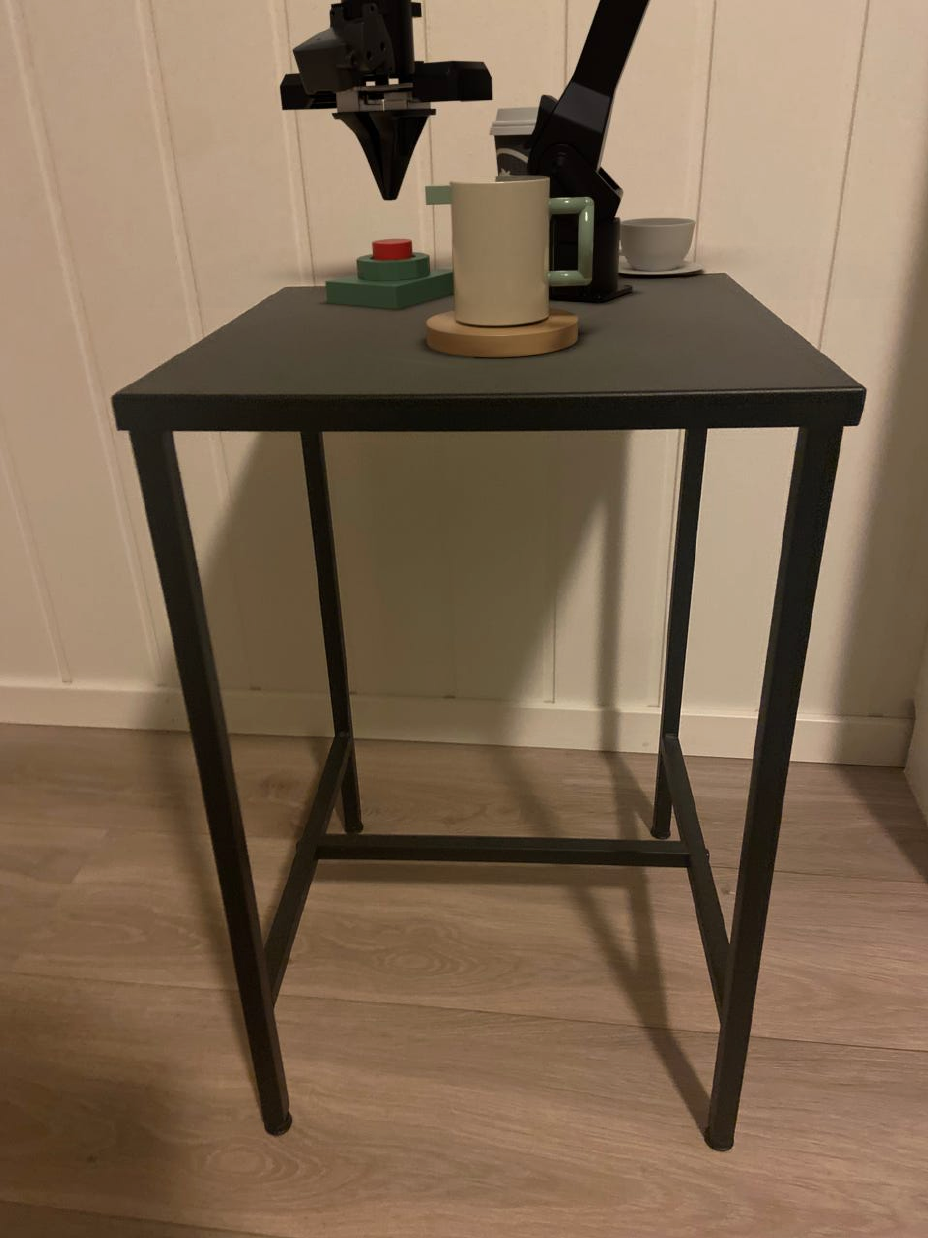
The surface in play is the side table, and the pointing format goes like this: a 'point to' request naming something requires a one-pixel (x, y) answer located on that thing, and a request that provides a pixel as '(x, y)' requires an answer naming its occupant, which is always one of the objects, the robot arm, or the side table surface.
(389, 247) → the button
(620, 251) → the teacup
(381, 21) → the robot arm
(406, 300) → the button box
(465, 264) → the jug
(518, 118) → the coffee cup
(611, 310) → the side table surface
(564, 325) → the disc
